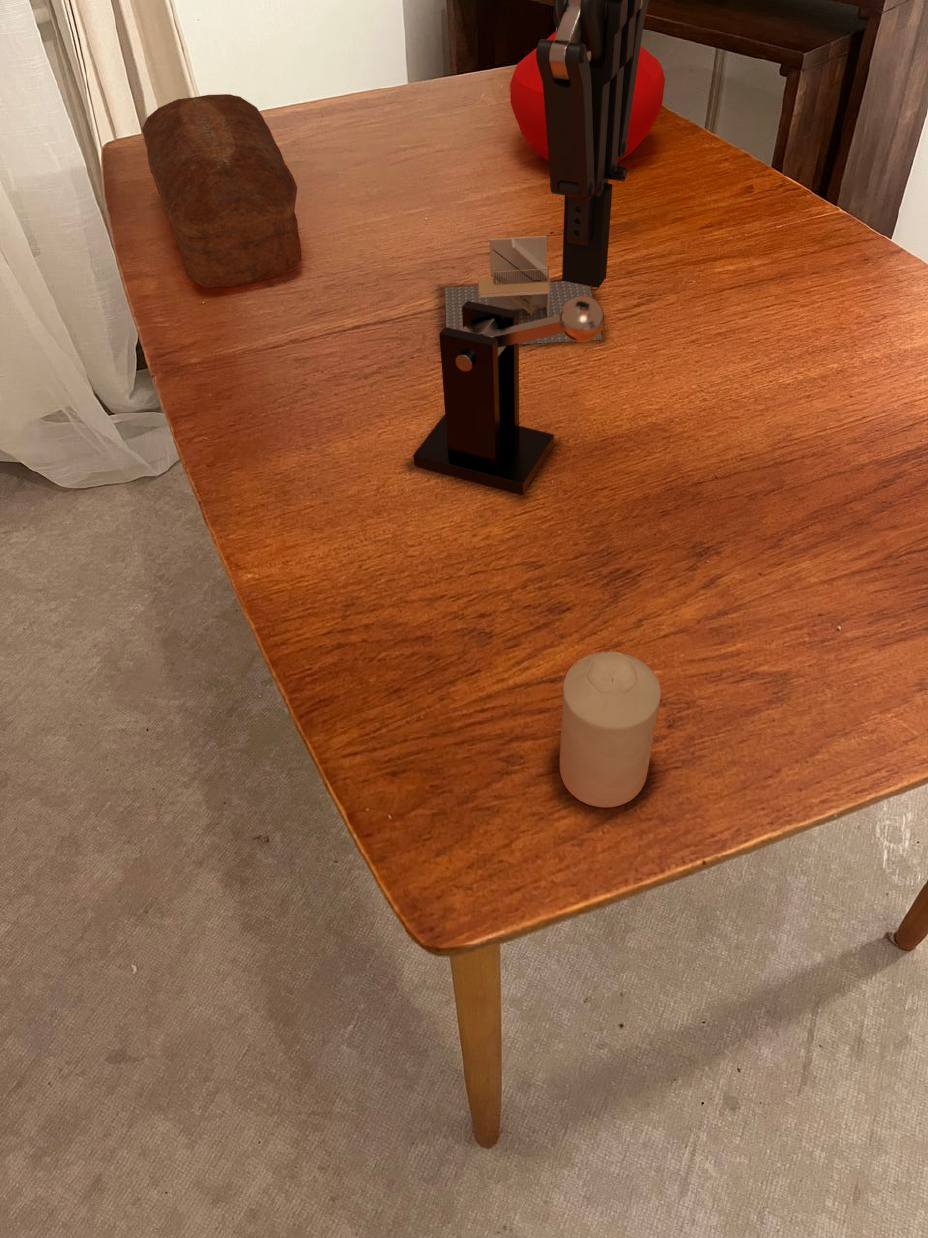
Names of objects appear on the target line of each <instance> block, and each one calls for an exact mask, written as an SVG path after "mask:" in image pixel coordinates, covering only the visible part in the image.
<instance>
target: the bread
mask: <svg viewBox="0 0 928 1238" xmlns="http://www.w3.org/2000/svg"><path fill="white" fill-rule="evenodd" d="M141 131H142V135H143V140H144V144H145V146H146V152H147V162H148V167H149V170H150V173H151V176H152V177H153V180H154V184H155V186H156V190H157V192H158V194H159V197H160V199H161V202H162V208H163V211H164V214H165V216H166V217H167V218H168V220H169V224H170V226H171V227H170V228H171V229H172V233H173V235H174V237H175V240H176V243H177V245H178V247H179V251H180V254H181V258H182V262H183V265H184V270H185V271H186V273H187V275H188V276H189V278H190V279H191V280H192V281H193V282H195V283H196V284H198V285H200V286H202V287H203V288H205V289H225V288H233V287H239V286H245V285H252V284H256V283H260V282H263V281H267V280H270V279H271V280H272V279H274V278H277V277H280V276H284V275H286V274H289V273H291V272H293V271H294V270H295V269H296V268H297V266H298V265H299V264H300V263H301V262H302V260H303V258H302V257H303V256H302V245H301V240H300V235H299V226H298V225H299V224H298V218H297V215H296V213H295V210H296V202H297V195H298V185H297V182H296V181H295V178H294V175H293V174H292V172H291V170H290V169H289V167H288V166H287V164H286V162H285V160H284V157H283V155H282V152H281V149H280V147H279V146H278V144H277V142H276V141H275V138H274V136H273V134H272V131H271V129H270V128H269V126H268V124H267V122H266V121H265V118H264V116H263V115H262V113H261V112H260V110H259V109H258V107H257V106H255V105H254V104H252V103H250V102H249V101H248V100H246V99H245V98H243V97H241V96H239V95H233V94H231V93H223V94H222V93H221V94H220V93H219V94H205V95H199V96H193V97H192V96H191V97H185V98H183V97H182V98H177V99H175V100H173V101H170V102H168V103H166V104H164V105H161V106H159V107H157V109H155V110H154V111H153V112H152V113H150V115H148V116H147V117H146V119H145V122H144V124H143V126H142V128H141Z"/></svg>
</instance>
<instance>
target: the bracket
mask: <svg viewBox="0 0 928 1238" xmlns="http://www.w3.org/2000/svg"><path fill="white" fill-rule="evenodd" d="M462 317H463V328H464V327H465V326H466V325H470V324H474V323H478V322H482V321H486V320H490V319H495V321H496V323H497V326H498V328H499V329H503V328H507V327H511V326H515V325H519V312H518V311H514V310H510V309H505V308H500V307H495V306H490V305H485V304H480V303H475V302H471V301H467V302H466V303H465V304H464V305H463V306H462ZM438 337H439V349H440V350H439V351H440V363H441V376H442V377H441V378H442V390H443V392H442V393H443V404H444V414H443V416H442V417H441V418H440V420H439V421H438V422H437V423H436V424H435V426H434V427H433V429H432V430H431V431H430V433H429V434H428V435H427V436H426V438H425V439H424V440H423V442H422V443H421V444H420V445H419V447H418V448H417V449H416V451H415V452H413V454H412V455H413V456H412V457H413V465H414V467H418V468H422V469H426V470H429V471H433V472H437V473H440V474H445V475H448V476H453V477H455V478H458V479H463V480H467V481H470V482H473V483H478V484H480V485H484V486H488V487H493V488H496V489H500V490H503V491H507V492H511V493H515V494H517V495H523V494H524V493H525V491H526V490H527V488H528V487H529V485H531V482H532V481H533V479H534V477H535V476H536V474H537V472H538V471H539V469H540V468H541V466H542V465H543V463H544V462H545V460H546V458H547V457H548V455H549V453H551V451H552V449H553V447H554V446H555V434H553V433H550V432H547V431H541V430H537V429H533V428H530V427H525V426H523V425H522V426H521V425H520V344H519V343H517V344H513V345H508V346H506V347H505V348H504V350H503V351H502V352H501V354H500V355H499V356H498V339H497V338H493V337H489V336H484V335H480V334H475V333H470V332H466V331H461V330H456V329H452V328H447V327H446V326H444V327H443V328H442V329H441V330H440V332H439V333H438Z"/></svg>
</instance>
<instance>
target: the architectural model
mask: <svg viewBox="0 0 928 1238" xmlns="http://www.w3.org/2000/svg"><path fill="white" fill-rule="evenodd" d="M547 259H548V236H547V235H536V236H521V237H503V238H501V237H500V238H490V239H489V261H490V262H489V263H490V276H483V277H482V276H481V277H480V276H479V277H478V278H477V282H478V285H475V286H455V287H454V286H453V287H445V288H444V299H445V300H444V301H445V302H444V303H445V327H447V328H452V329H456V330H462V329H463V317H462V306H463V305H464V304H465V303H466V302H467V301H471V302H475V303H480V304H485V305H490V306H495V307H500V308H505V309H510V310H514V311H518V312H519V324H524V323H528V322H532V321H536V320H540V319H544V318H549V317H553V316H557V315H560V313H561V310H562V308H563V306H564V305H565V304H566V303H567V302H568V301H569V300H570V299H572V298H574V297H577V296H589V297H591V298H593V294H592V290H591V286H586V285H581V284H576V283H571V282H566V281H562V280H561V281H551V275H550V267H548V266H547V265H548V263H547ZM602 339H603V338H602V334H601V332H600V333H599V334H598V335H597V336H596V337H595V338H594V339H592V340H591V341H603V340H602ZM567 342H574V341H573V340H571V339H569V338H568V337H567V336H566V335H565V334H564V333H561V334H557V335H552V336H548V337H543V338H539V339H535V340H530V341H526V342H521V343H519V345H528V344H529V345H531V344H548V343H567Z"/></svg>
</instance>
